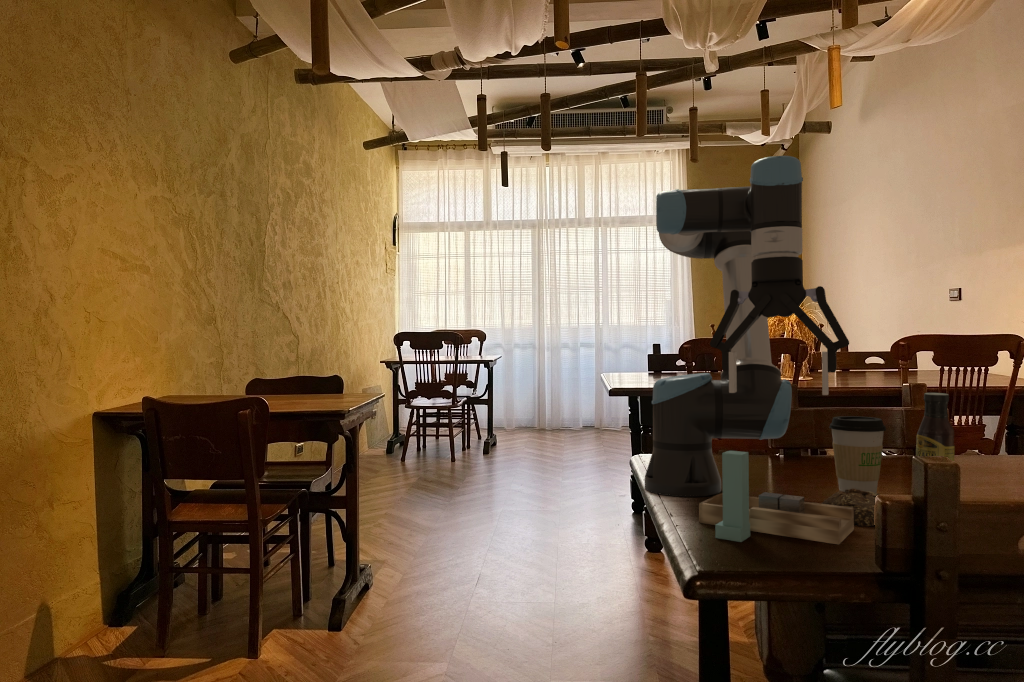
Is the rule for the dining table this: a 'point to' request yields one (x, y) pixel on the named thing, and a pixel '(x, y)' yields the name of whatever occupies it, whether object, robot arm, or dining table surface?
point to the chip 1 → (770, 500)
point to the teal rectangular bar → (735, 497)
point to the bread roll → (856, 504)
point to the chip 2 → (792, 504)
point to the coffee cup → (857, 451)
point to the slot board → (789, 520)
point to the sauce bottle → (935, 428)
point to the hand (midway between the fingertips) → (777, 393)
